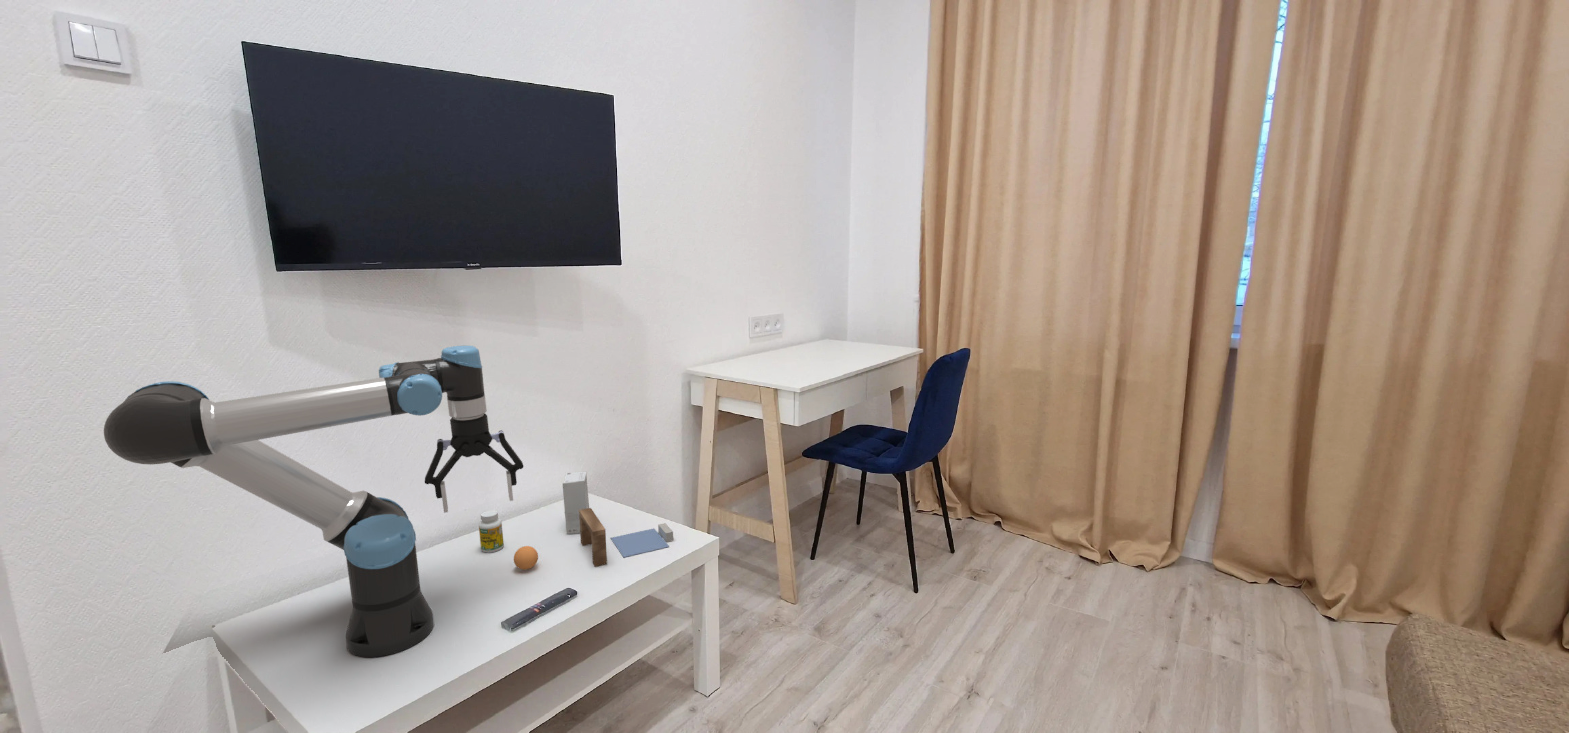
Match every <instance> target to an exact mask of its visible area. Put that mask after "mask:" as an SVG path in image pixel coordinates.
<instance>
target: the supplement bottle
mask: <svg viewBox="0 0 1569 733" xmlns="http://www.w3.org/2000/svg"><path fill="white" fill-rule="evenodd" d="M480 520H481V521H480V522H479V524H478V531H479V533H478V534H479V544H480V550H481V551H482V552H483V553H489V554H490V553H495V552H498V551H501V550H502V548H504V534H503V532H504V531H503V524H502V520H501V518H499V513H498V511H497V510H493V509H492V510H485V511H484V512H482V513H481V514H480Z"/></svg>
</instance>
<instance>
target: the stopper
mask: <svg viewBox="0 0 1569 733" xmlns="http://www.w3.org/2000/svg"><path fill="white" fill-rule="evenodd" d="M657 526H658V531H657V532H658V534H659V535H660V536H661V537H662V538H663V539H664V541H665V542H666V543H669V542H672V541H674V531H673V529H671V528H670V526H669V525H667V523H666V522H665V523H663V522H662V523H659V524H657Z"/></svg>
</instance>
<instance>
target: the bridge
mask: <svg viewBox="0 0 1569 733" xmlns="http://www.w3.org/2000/svg"><path fill="white" fill-rule="evenodd" d="M579 519H580V533H579V535H580V544H581V545H582V546H581V547H583V546H589V545H591V554H592V555H591V558H592V565H593V567H594V568H597V567H601V566H604V565H608V556H607V538H606V536H607V533H606V528H605V527H604V524H602V522H601V521H600V519H599V517H598V516H597V515H596V513H595V511H594V510H593V509H592V508H591V507H589V508H587V509H581V510H579Z"/></svg>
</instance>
